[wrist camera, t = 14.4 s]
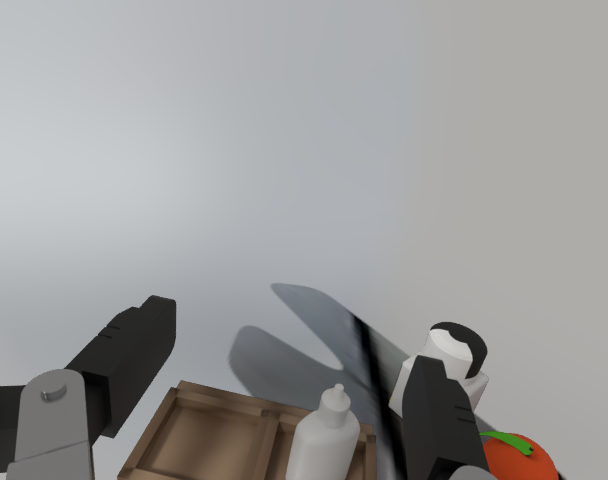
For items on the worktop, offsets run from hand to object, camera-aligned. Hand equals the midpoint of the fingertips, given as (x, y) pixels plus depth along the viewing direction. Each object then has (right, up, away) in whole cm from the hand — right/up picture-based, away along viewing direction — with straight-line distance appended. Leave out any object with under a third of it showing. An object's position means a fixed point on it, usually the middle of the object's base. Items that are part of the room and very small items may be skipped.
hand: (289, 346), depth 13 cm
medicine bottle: (+15, -17, +35) cm, 42 cm away
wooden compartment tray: (-4, -19, +25) cm, 31 cm away
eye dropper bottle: (+2, -19, +24) cm, 31 cm away
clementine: (+20, -22, +27) cm, 40 cm away
